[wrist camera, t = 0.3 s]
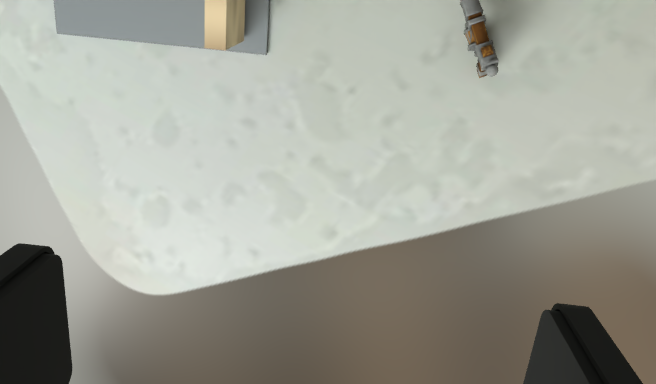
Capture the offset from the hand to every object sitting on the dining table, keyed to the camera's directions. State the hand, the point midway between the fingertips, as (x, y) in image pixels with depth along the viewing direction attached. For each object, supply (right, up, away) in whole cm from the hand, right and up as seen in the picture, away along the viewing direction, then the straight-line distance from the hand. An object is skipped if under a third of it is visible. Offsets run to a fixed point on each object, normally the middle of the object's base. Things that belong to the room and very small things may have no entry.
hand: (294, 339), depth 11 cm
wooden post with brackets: (+9, +14, +24) cm, 29 cm away
